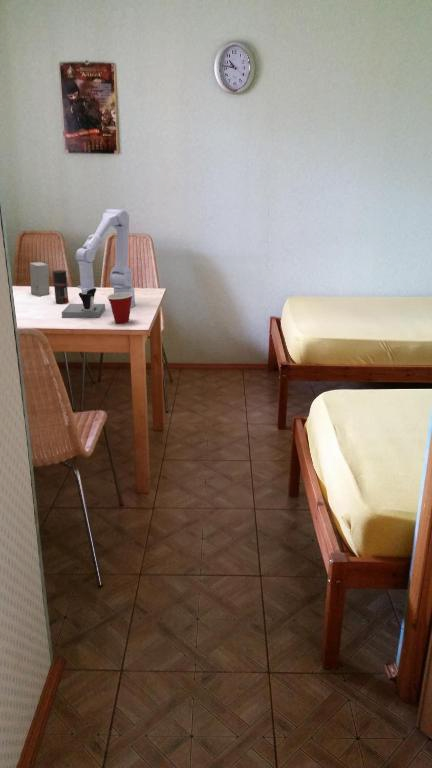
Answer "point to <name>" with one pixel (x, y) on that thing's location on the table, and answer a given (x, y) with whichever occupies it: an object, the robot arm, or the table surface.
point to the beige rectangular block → (90, 305)
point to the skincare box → (39, 279)
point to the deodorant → (60, 287)
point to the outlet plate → (78, 312)
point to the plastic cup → (120, 306)
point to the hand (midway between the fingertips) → (88, 306)
